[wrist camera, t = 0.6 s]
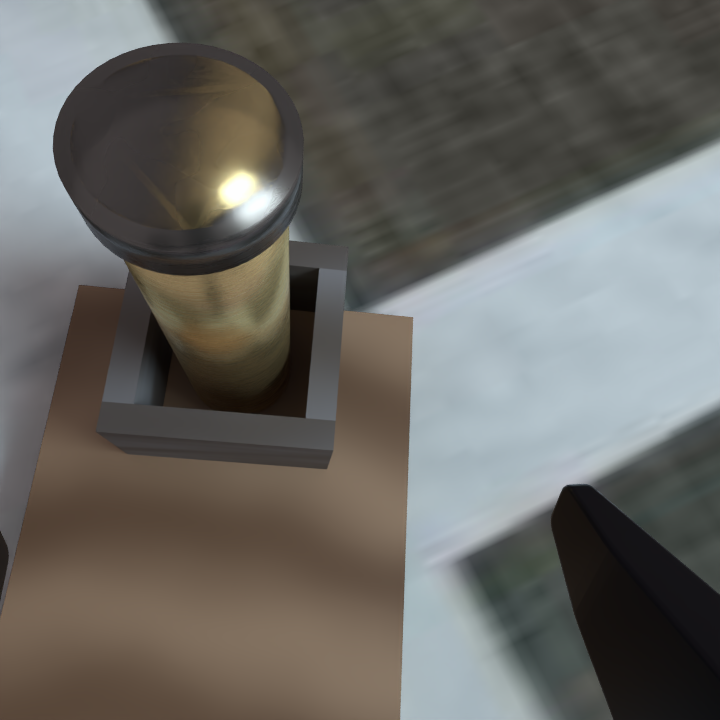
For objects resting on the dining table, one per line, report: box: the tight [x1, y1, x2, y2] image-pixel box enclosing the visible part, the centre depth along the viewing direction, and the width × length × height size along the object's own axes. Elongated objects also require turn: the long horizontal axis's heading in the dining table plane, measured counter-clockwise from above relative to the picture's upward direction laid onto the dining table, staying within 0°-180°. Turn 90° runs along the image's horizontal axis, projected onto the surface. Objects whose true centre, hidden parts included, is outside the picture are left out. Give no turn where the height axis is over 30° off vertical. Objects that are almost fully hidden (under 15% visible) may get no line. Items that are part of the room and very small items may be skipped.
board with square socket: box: [0, 241, 413, 720], centre depth 21 cm, size 21×14×6 cm
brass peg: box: [53, 43, 304, 414], centre depth 18 cm, size 5×5×14 cm
